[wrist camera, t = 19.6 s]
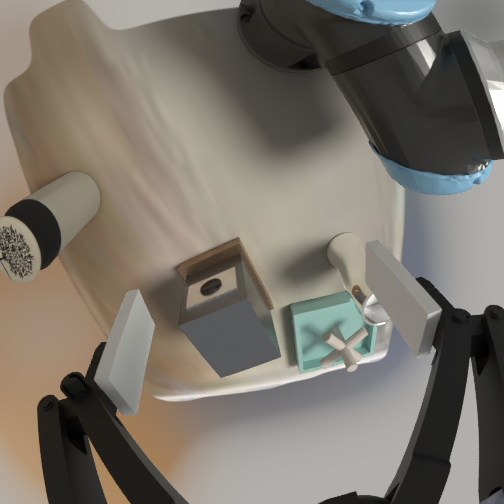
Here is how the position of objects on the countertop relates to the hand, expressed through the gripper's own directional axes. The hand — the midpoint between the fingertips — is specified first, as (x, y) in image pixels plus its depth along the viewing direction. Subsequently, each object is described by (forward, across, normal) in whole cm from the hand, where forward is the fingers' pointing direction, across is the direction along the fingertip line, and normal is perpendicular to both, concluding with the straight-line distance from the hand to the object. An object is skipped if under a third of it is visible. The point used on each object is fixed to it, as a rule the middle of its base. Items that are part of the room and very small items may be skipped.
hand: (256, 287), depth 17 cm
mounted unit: (+27, -5, -17) cm, 32 cm away
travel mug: (+27, -23, +3) cm, 36 cm away
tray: (+27, +12, -31) cm, 43 cm away
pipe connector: (+26, +12, -31) cm, 42 cm away
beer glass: (+27, +15, -15) cm, 34 cm away
